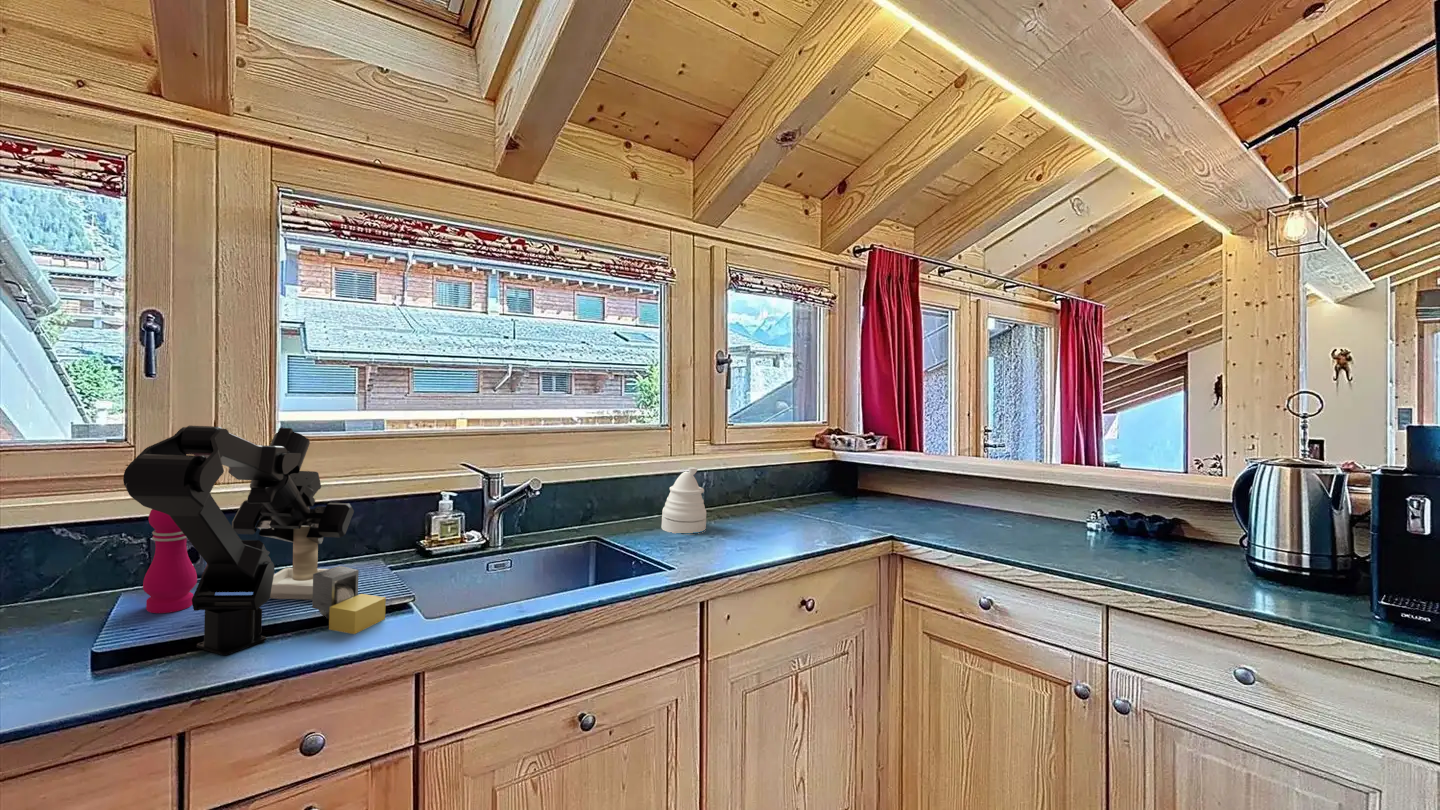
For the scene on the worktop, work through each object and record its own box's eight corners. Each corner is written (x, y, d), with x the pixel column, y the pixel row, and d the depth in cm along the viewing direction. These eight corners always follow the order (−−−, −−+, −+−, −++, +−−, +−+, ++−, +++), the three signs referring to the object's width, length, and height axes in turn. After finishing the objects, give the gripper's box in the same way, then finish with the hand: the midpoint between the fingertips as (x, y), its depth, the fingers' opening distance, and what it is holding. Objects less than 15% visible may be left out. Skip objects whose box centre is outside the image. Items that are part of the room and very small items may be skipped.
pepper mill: (166, 617, 111) (167, 498, 110) (131, 611, 112) (132, 494, 111) (207, 602, 118) (209, 491, 117) (174, 597, 120) (175, 487, 118)
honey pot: (714, 528, 195) (718, 468, 194) (688, 536, 184) (692, 472, 183) (678, 521, 202) (682, 462, 201) (652, 528, 191) (655, 466, 190)
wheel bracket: (334, 625, 112) (335, 579, 112) (308, 618, 114) (309, 573, 114) (360, 614, 117) (362, 570, 117) (335, 608, 119) (336, 565, 119)
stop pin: (301, 582, 124) (302, 524, 123) (286, 578, 126) (287, 520, 125) (323, 576, 128) (324, 520, 127) (308, 572, 130) (309, 516, 129)
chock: (354, 635, 109) (355, 611, 109) (328, 630, 110) (329, 607, 110) (384, 620, 116) (385, 597, 116) (360, 615, 117) (361, 593, 117)
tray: (325, 599, 123) (325, 586, 123) (255, 598, 122) (256, 584, 121) (349, 581, 133) (350, 569, 133) (285, 580, 132) (285, 567, 131)
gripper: (351, 461, 123) (373, 507, 134) (242, 456, 121) (275, 503, 132) (329, 513, 115) (355, 557, 127) (213, 508, 113) (250, 554, 125)
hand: (309, 541), depth 128 cm, fingers closed on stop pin, 4 cm apart
